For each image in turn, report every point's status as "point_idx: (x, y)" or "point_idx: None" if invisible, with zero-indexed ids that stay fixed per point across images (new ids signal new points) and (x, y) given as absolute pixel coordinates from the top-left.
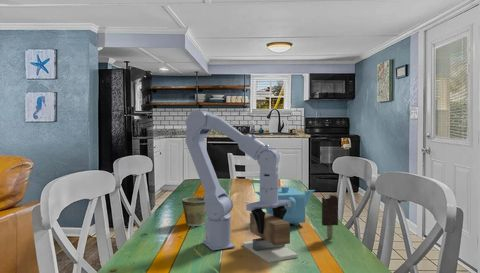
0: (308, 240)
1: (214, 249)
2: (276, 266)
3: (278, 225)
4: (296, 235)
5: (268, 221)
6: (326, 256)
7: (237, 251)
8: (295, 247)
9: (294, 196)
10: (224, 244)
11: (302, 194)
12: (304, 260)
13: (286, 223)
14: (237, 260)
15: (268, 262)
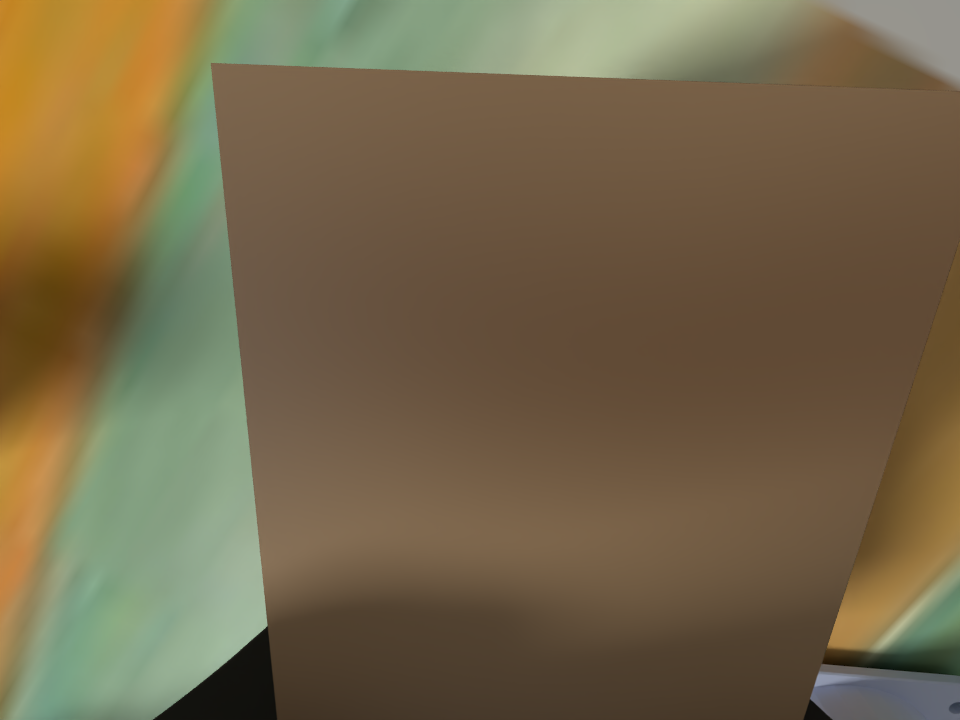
0: (8, 511)
1: (953, 679)
2: (717, 21)
3: (793, 92)
4: (59, 657)
5: (817, 623)
6: (28, 21)
7: None
8: (216, 415)
9: None
10: (862, 707)
11: None
12: (325, 33)
13: (386, 78)
14: (938, 382)
15: None
